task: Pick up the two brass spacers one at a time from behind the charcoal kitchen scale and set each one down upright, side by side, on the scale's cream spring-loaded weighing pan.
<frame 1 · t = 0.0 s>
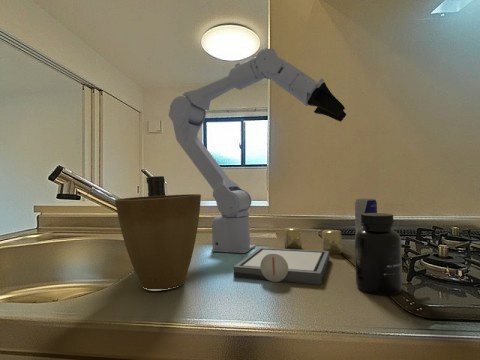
hand: (342, 115, 69), 32 cm above the counter, tool tilted 50°, fingers open, 7 cm apart
scale: (285, 268, 62), on the counter
sauce bottle: (160, 262, 70), on the counter
plant pot: (162, 285, 55), on the counter
supplement bottle: (378, 289, 49), on the counter
spacer a: (293, 248, 79), on the counter
spacer b: (332, 251, 74), on the counter
energy drink: (367, 246, 79), on the counter
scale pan: (284, 260, 62), point 2 cm above the counter, slide at 0.3 cm
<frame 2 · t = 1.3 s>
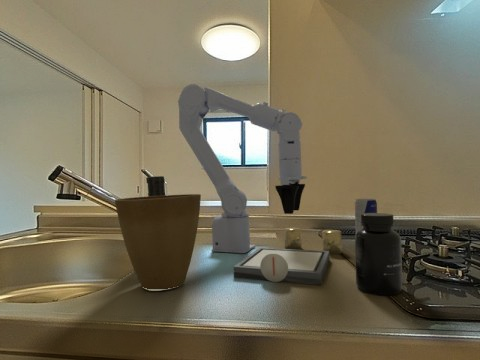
hand: (291, 211, 79), 9 cm above the counter, tool pointing down, fingers open, 7 cm apart
nothing on the counter moved.
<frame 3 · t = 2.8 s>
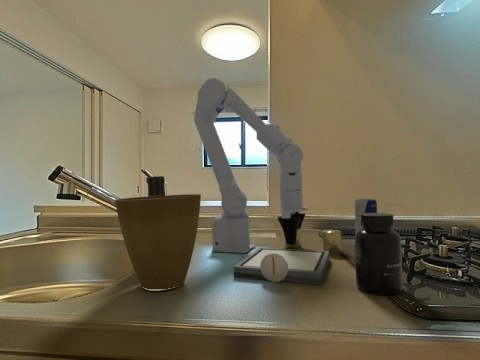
hand: (293, 242, 79), 1 cm above the counter, tool pointing down, fingers closed on spacer a, 4 cm apart
spacer a: (293, 248, 79), on the counter, touching gripper
everything else where it was.
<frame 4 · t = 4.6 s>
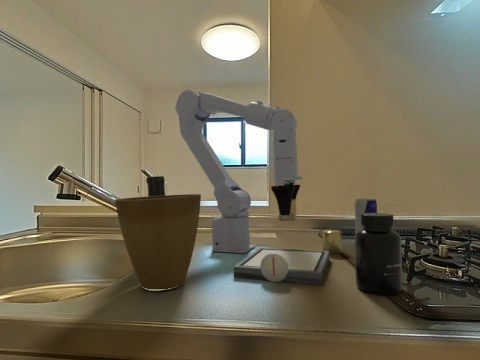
hand: (287, 214, 75), 9 cm above the counter, tool pointing down, fingers closed on spacer a, 4 cm apart
spacer a: (287, 219, 75), point 8 cm above the counter, touching gripper
everything else where it was.
when the fingers open (5 cm above the counter, at t = 6.9 s): spacer a drops 1 cm, resting on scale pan.
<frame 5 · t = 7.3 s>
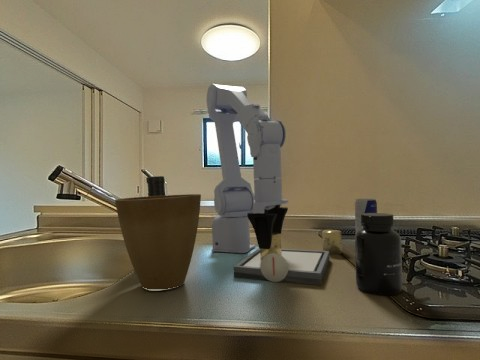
hand: (270, 244, 63), 5 cm above the counter, tool pointing down, fingers open, 7 cm apart
spacer a: (271, 258, 63), point 2 cm above the counter, touching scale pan
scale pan: (284, 260, 62), point 2 cm above the counter, slide at 0.4 cm, touching spacer a
everything else where it was.
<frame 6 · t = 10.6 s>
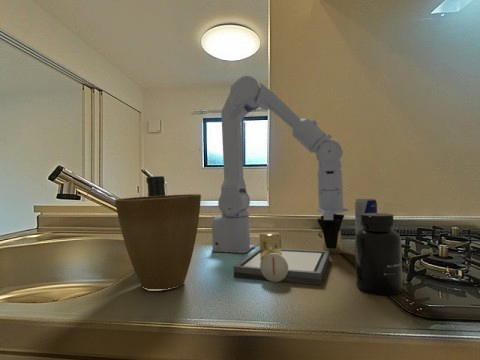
hand: (332, 245, 74), 1 cm above the counter, tool pointing down, fingers closed on spacer b, 4 cm apart
spacer b: (332, 251, 74), on the counter, touching gripper
everything else where it was.
when the fingers open (5 cm above the counter, at t = 14.7 s): spacer b drops 2 cm, resting on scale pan.
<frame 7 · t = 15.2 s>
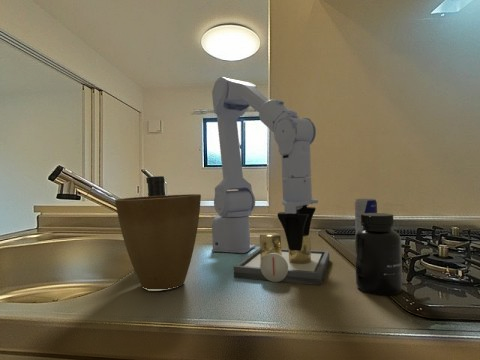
hand: (299, 245, 61), 5 cm above the counter, tool pointing down, fingers open, 7 cm apart
spacer b: (299, 260, 61), point 2 cm above the counter, touching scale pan
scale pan: (284, 261, 62), point 1 cm above the counter, slide at 0.5 cm, touching spacer a, spacer b
everything else where it was.
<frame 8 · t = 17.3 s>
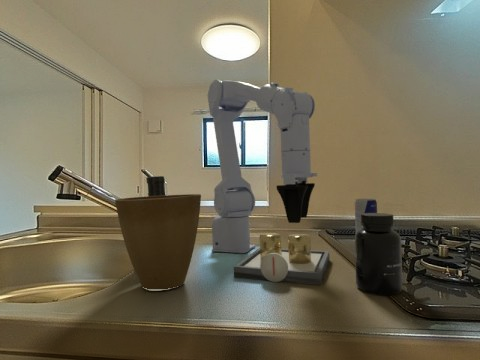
hand: (298, 219, 61), 10 cm above the counter, tool pointing down, fingers open, 7 cm apart
nothing on the counter moved.
at the end: spacer a inside the target area on the scale (2.9 cm from its centre), point 1.7 cm above the scale's base; spacer b inside the target area on the scale (3.1 cm from its centre), point 1.7 cm above the scale's base; spacer b tilted 0° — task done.
